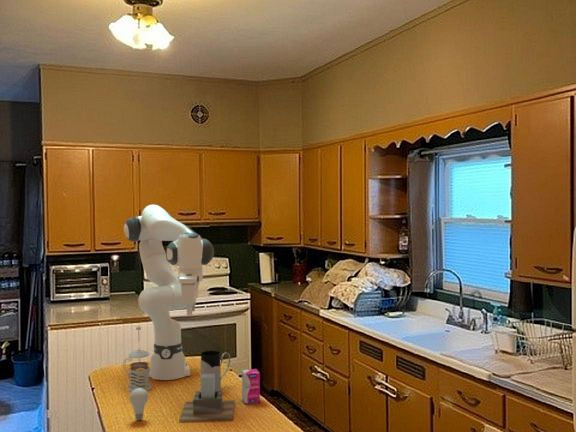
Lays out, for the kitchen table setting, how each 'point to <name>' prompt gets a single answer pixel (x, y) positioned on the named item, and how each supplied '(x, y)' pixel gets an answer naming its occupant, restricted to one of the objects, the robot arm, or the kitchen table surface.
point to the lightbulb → (138, 401)
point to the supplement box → (250, 386)
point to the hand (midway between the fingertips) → (191, 313)
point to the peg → (208, 386)
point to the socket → (207, 409)
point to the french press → (140, 382)
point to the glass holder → (213, 366)
